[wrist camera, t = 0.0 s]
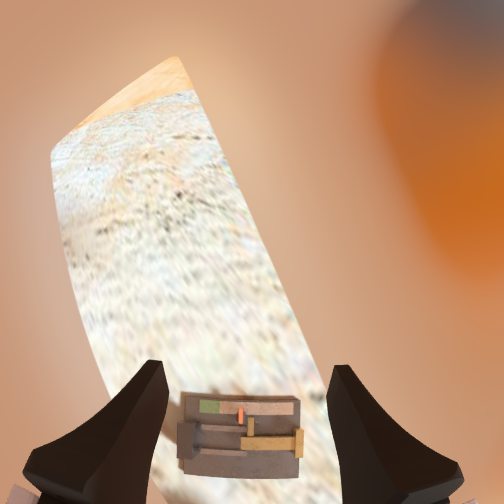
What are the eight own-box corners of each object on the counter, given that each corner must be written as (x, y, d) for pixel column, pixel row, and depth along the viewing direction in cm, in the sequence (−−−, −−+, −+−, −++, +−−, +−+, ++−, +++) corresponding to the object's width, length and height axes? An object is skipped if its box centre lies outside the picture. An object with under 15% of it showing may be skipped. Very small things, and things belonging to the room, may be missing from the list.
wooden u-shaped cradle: (299, 453, 36) (303, 457, 33) (241, 453, 36) (240, 458, 33) (300, 416, 38) (303, 418, 36) (242, 416, 38) (241, 418, 36)
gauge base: (297, 476, 35) (303, 486, 31) (185, 472, 36) (176, 481, 31) (299, 399, 41) (305, 400, 36) (186, 396, 41) (178, 396, 36)
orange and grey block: (245, 422, 38) (245, 424, 35) (236, 421, 38) (235, 424, 35) (246, 407, 39) (245, 409, 36) (237, 407, 39) (236, 408, 36)
